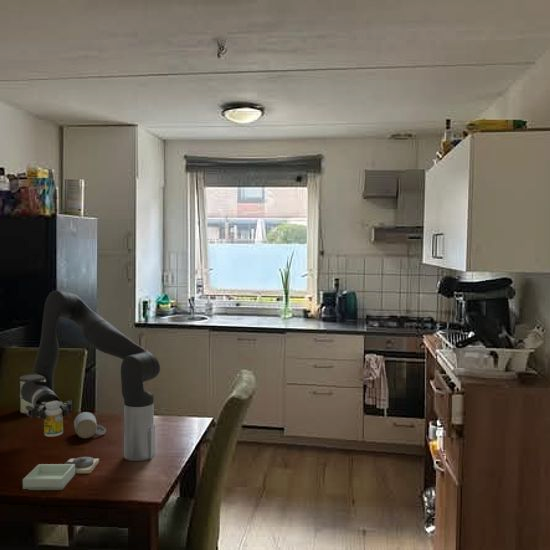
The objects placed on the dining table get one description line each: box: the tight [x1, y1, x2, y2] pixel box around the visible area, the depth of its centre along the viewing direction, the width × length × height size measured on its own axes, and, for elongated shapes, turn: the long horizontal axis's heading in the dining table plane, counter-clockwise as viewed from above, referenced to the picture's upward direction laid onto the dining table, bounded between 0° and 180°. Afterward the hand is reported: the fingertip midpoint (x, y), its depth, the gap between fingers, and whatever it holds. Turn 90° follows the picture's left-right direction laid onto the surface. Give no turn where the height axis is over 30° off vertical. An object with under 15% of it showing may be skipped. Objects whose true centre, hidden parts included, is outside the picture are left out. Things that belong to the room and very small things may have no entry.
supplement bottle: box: [43, 401, 64, 438], centre depth 165 cm, size 5×5×10 cm
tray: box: [22, 463, 76, 491], centre depth 155 cm, size 11×11×3 cm
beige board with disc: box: [64, 456, 100, 474], centre depth 166 cm, size 9×9×3 cm
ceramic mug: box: [73, 411, 107, 439], centre depth 195 cm, size 11×8×8 cm
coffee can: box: [19, 373, 46, 414], centre depth 225 cm, size 10×10×14 cm
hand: (54, 414), depth 163 cm, fingers closed on supplement bottle, 5 cm apart
